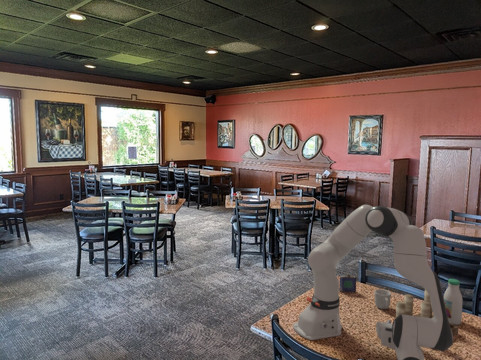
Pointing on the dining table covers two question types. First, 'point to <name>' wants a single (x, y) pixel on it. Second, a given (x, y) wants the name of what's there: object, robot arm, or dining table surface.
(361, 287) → the dining table surface
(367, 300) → the dining table surface
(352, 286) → the flask
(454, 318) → the milk bottle
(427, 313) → the stool
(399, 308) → the loose leg
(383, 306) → the cup
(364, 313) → the dining table surface
